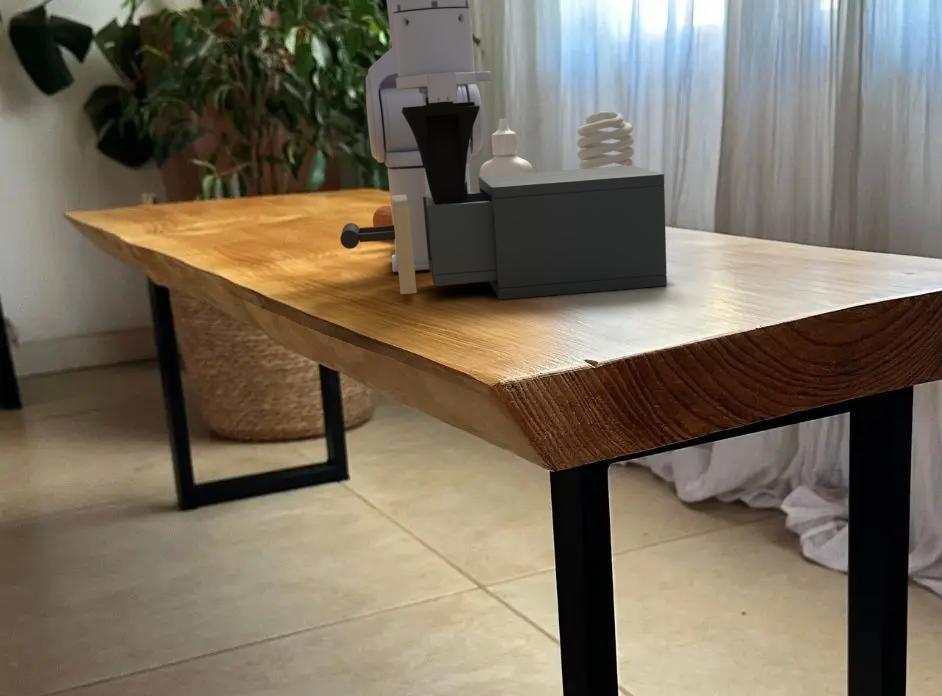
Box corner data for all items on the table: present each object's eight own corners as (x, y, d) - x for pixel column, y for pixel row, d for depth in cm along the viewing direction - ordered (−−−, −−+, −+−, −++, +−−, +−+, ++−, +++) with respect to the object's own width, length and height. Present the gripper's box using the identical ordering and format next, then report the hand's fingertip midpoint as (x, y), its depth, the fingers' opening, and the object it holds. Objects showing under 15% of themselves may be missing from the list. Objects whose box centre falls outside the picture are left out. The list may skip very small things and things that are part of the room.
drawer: (344, 299, 90) (335, 211, 88) (348, 277, 101) (340, 199, 99) (555, 281, 91) (550, 194, 89) (536, 262, 102) (532, 184, 100)
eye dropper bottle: (519, 238, 127) (511, 117, 123) (542, 243, 122) (535, 116, 118) (480, 243, 125) (471, 120, 121) (501, 248, 120) (493, 120, 116)
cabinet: (499, 299, 91) (491, 187, 88) (485, 276, 103) (478, 176, 100) (667, 285, 91) (664, 174, 89) (634, 264, 103) (630, 165, 101)
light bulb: (648, 232, 124) (644, 108, 120) (611, 240, 120) (607, 111, 116) (606, 231, 128) (601, 110, 124) (569, 238, 124) (563, 114, 120)
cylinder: (427, 219, 96) (423, 167, 95) (468, 216, 96) (464, 163, 95) (429, 223, 93) (424, 169, 92) (471, 220, 93) (466, 166, 92)
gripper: (494, 0, 83) (507, 205, 88) (478, 14, 97) (490, 190, 101) (390, 7, 83) (409, 212, 87) (389, 20, 97) (405, 197, 101)
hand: (446, 201), depth 94 cm, fingers closed on cylinder, 3 cm apart
